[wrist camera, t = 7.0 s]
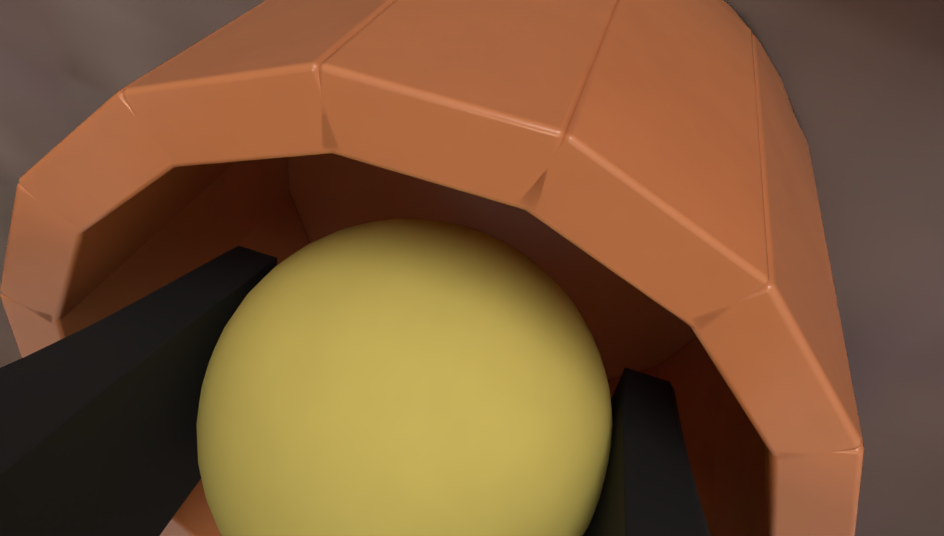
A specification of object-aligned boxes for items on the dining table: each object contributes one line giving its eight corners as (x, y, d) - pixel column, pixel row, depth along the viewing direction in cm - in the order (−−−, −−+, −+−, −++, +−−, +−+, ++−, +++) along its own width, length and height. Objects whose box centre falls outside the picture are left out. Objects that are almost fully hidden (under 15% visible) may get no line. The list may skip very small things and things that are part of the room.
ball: (583, 447, 13) (516, 779, 9) (311, 357, 13) (133, 629, 9) (683, 208, 9) (650, 568, 5) (316, 103, 10) (45, 357, 6)
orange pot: (682, 449, 16) (662, 768, 11) (270, 314, 18) (88, 551, 13) (936, 3, 10) (1143, 294, 5) (254, -162, 11) (-132, -63, 6)
